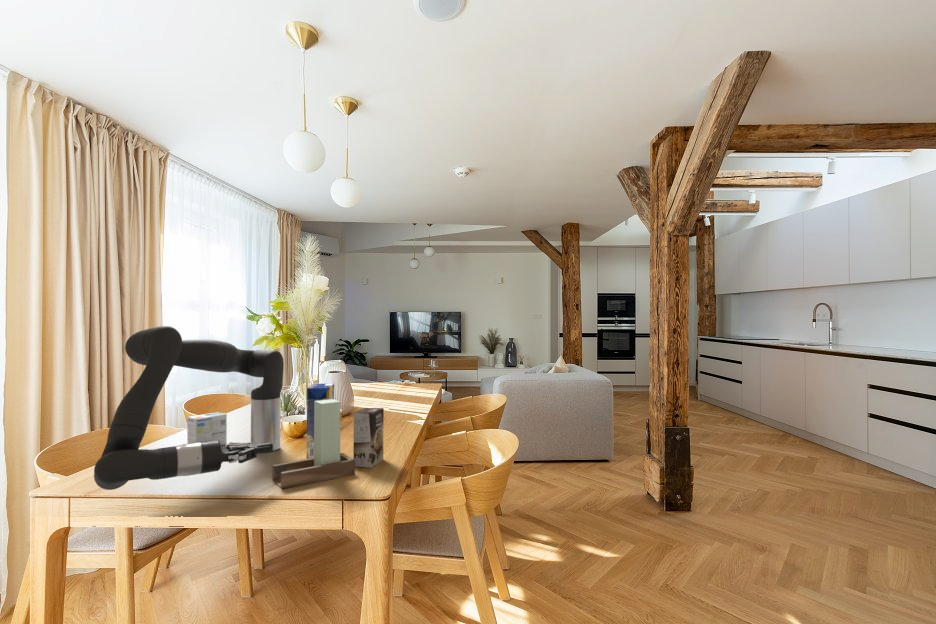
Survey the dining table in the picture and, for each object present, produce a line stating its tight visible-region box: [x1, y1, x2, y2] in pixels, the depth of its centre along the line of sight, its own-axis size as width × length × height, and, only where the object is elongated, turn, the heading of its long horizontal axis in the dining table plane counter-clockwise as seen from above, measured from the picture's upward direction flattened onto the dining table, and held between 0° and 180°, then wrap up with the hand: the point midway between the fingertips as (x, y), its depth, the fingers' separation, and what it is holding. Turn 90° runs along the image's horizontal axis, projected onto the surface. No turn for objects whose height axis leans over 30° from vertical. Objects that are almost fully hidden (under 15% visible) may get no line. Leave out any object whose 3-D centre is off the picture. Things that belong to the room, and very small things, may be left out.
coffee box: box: [352, 407, 385, 469], centre depth 149 cm, size 9×6×16 cm
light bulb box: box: [186, 411, 228, 446], centre depth 168 cm, size 11×7×11 cm, turn 144°
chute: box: [271, 452, 356, 490], centre depth 136 cm, size 9×20×4 cm, turn 127°
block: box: [314, 398, 341, 466], centre depth 138 cm, size 6×6×20 cm
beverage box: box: [306, 383, 335, 459], centre depth 159 cm, size 7×11×22 cm, turn 8°
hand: (271, 447), depth 129 cm, fingers closed
